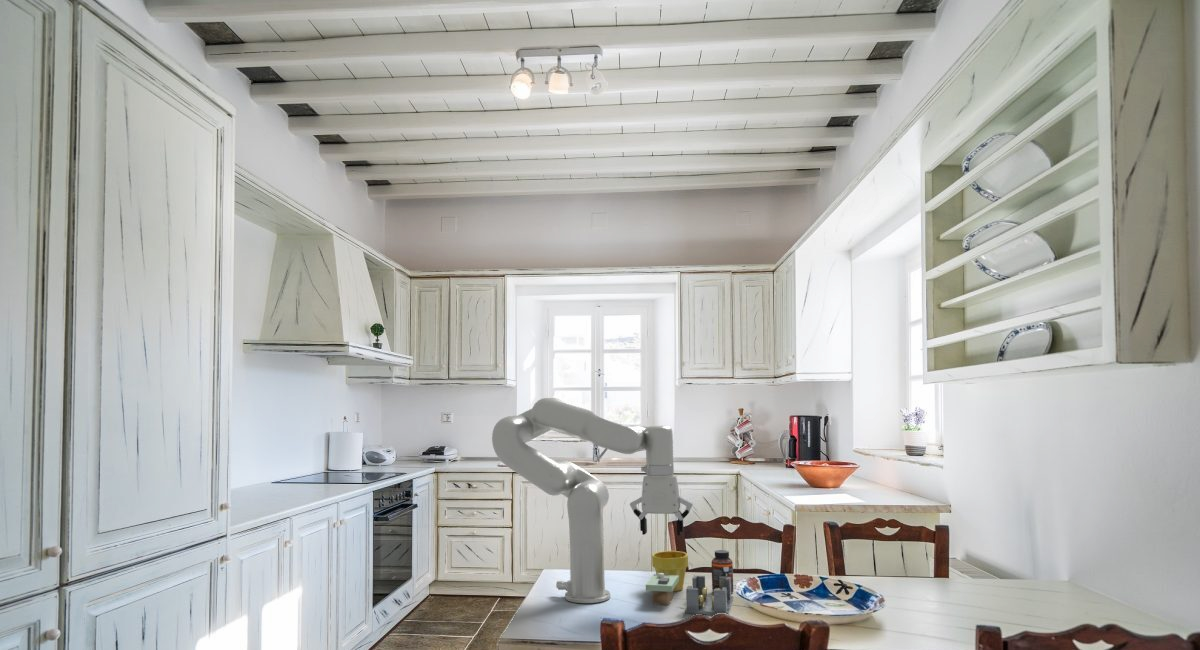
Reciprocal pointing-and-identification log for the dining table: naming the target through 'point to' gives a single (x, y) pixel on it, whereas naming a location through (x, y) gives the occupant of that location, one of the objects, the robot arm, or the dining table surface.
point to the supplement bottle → (721, 568)
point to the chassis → (708, 597)
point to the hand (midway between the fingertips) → (661, 534)
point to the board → (662, 582)
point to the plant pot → (671, 565)
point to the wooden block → (662, 597)
